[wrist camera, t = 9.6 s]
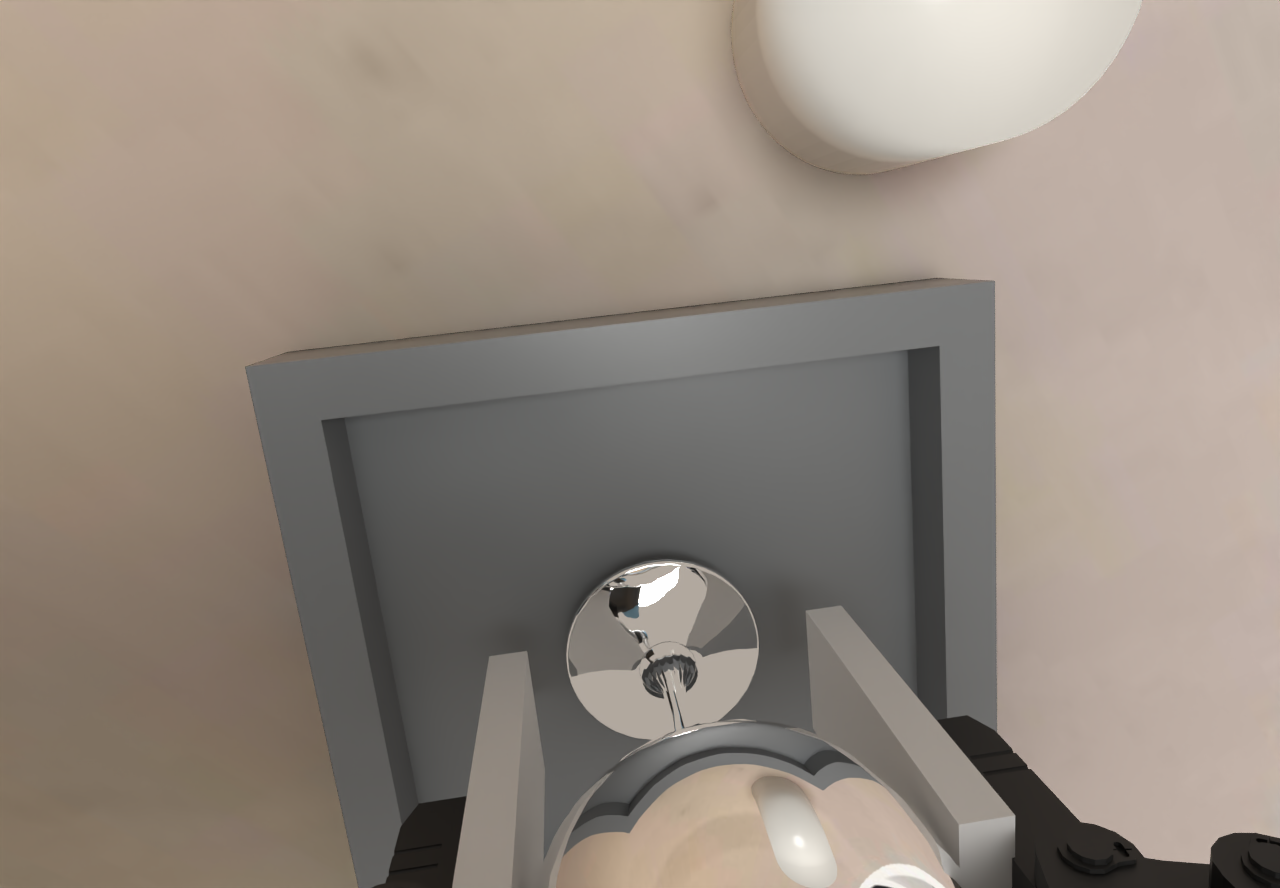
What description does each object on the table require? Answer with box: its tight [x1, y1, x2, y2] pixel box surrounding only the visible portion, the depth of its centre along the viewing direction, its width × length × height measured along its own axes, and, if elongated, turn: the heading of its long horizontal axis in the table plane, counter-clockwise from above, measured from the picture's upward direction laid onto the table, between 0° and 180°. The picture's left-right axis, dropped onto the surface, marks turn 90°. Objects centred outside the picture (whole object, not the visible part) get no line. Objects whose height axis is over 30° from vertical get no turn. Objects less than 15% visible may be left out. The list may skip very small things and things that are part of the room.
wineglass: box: [535, 559, 971, 888], centre depth 13 cm, size 6×6×12 cm
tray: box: [245, 278, 997, 888], centre depth 19 cm, size 15×15×3 cm
